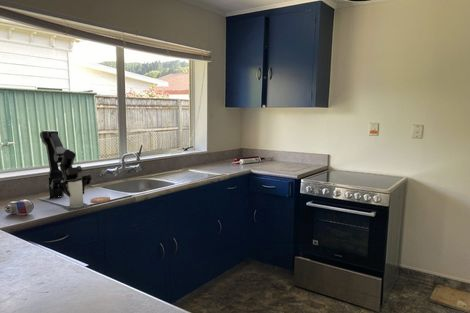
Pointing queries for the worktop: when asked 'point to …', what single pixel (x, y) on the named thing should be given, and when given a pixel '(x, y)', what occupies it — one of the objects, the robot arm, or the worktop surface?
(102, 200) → the saucer
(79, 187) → the tumbler
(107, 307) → the worktop surface
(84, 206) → the rubber mat
